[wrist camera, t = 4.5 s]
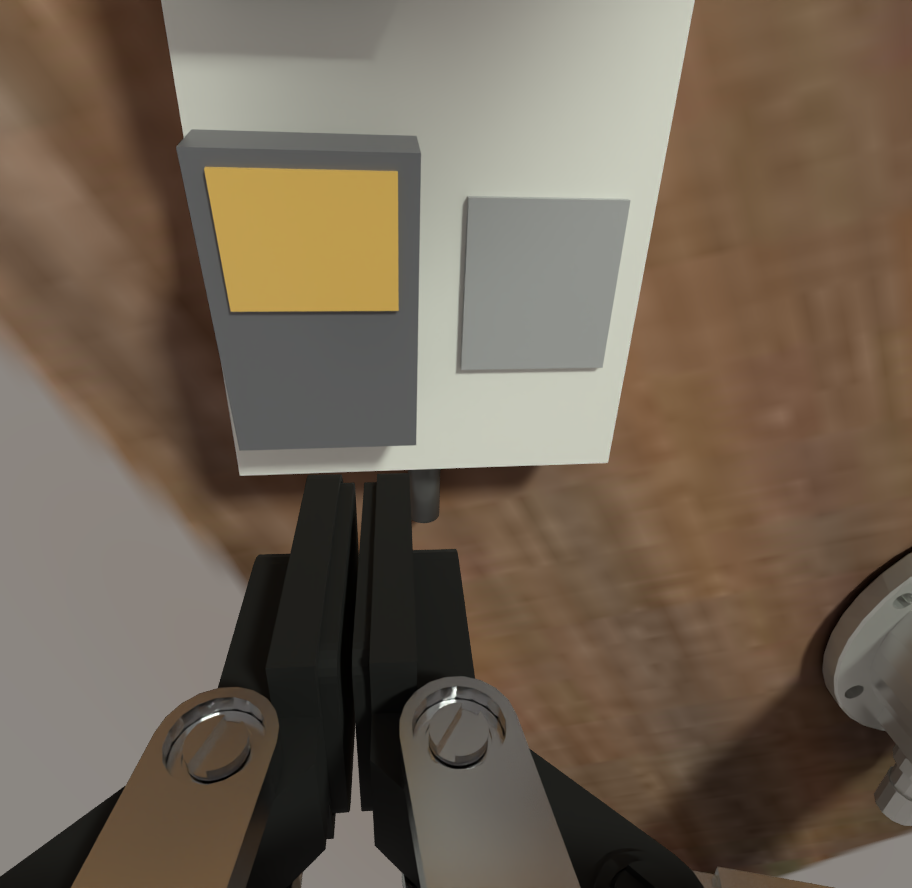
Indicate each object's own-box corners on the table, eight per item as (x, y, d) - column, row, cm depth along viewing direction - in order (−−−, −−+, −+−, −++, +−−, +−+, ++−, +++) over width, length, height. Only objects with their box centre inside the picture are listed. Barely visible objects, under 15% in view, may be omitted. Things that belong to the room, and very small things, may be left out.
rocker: (412, 415, 16) (416, 447, 15) (246, 419, 15) (238, 453, 14) (416, 136, 12) (421, 154, 11) (191, 129, 11) (174, 148, 10)
